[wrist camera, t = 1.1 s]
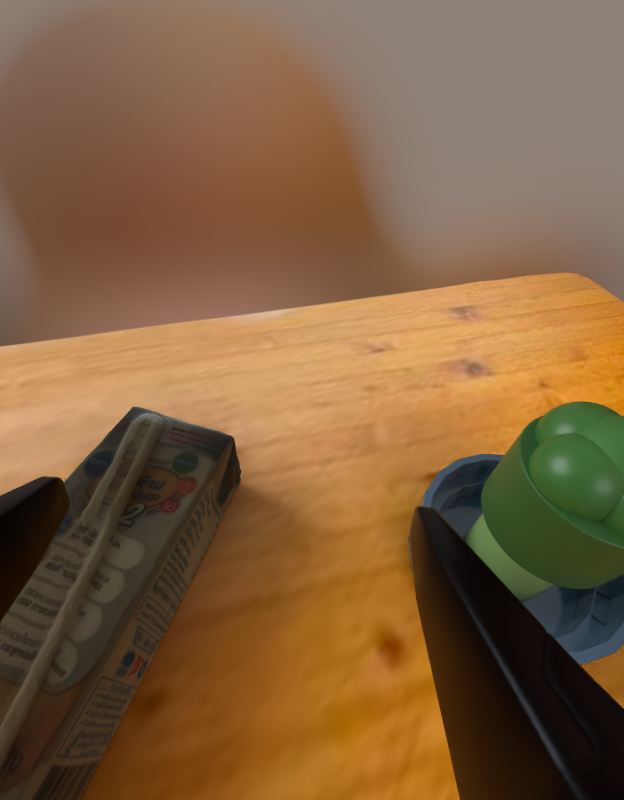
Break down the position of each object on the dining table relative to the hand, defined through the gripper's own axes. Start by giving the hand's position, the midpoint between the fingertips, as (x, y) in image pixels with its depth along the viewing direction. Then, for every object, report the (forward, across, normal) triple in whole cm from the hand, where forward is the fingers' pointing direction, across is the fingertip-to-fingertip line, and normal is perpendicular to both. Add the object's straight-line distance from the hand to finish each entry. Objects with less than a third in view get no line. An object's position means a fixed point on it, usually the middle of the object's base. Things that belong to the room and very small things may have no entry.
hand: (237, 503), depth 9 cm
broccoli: (+10, -14, +12) cm, 21 cm away
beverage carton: (+6, +9, +14) cm, 18 cm away
